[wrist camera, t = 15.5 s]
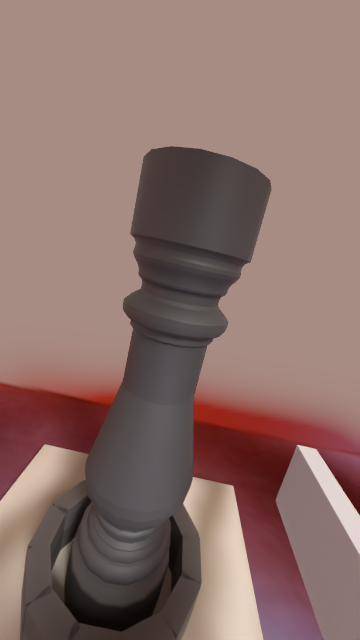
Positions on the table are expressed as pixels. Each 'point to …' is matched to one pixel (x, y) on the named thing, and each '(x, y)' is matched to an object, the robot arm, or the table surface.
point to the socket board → (181, 576)
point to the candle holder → (160, 376)
